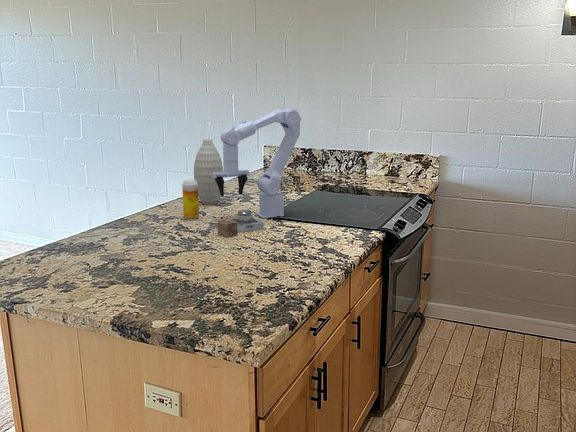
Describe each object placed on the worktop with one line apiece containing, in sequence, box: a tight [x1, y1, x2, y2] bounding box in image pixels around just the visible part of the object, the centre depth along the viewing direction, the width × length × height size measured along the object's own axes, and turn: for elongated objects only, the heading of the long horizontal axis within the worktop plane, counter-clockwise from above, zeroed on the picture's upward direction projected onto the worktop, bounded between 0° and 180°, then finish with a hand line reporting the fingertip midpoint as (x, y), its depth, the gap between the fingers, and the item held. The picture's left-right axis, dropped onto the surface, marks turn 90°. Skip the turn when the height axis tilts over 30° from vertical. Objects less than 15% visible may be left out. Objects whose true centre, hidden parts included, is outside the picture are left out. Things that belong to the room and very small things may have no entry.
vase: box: [193, 138, 224, 206], centre depth 252 cm, size 13×13×28 cm
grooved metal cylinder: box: [237, 209, 252, 225], centre depth 218 cm, size 5×5×6 cm
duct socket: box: [225, 215, 264, 233], centre depth 218 cm, size 11×12×2 cm
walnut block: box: [217, 218, 239, 239], centre depth 208 cm, size 5×5×5 cm
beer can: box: [181, 179, 200, 221], centre depth 229 cm, size 6×6×15 cm
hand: (231, 195), depth 227 cm, fingers open, 7 cm apart
